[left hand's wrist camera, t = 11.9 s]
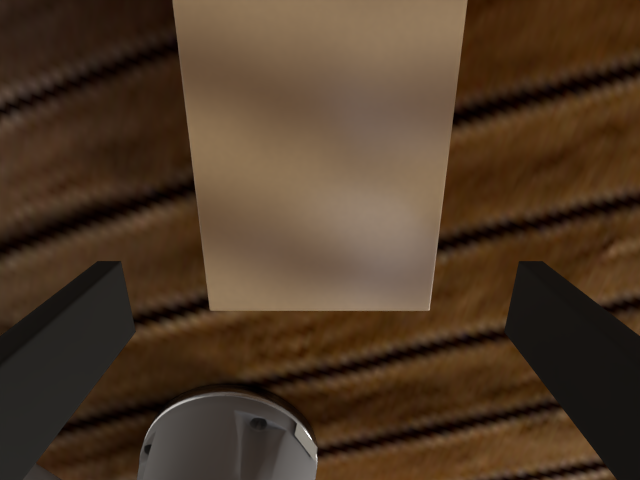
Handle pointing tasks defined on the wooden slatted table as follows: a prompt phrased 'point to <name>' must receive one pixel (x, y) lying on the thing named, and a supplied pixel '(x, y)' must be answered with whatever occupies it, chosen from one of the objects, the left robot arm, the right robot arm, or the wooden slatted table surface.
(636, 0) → the wooden slatted table surface
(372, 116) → the cabinet
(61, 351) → the left robot arm
